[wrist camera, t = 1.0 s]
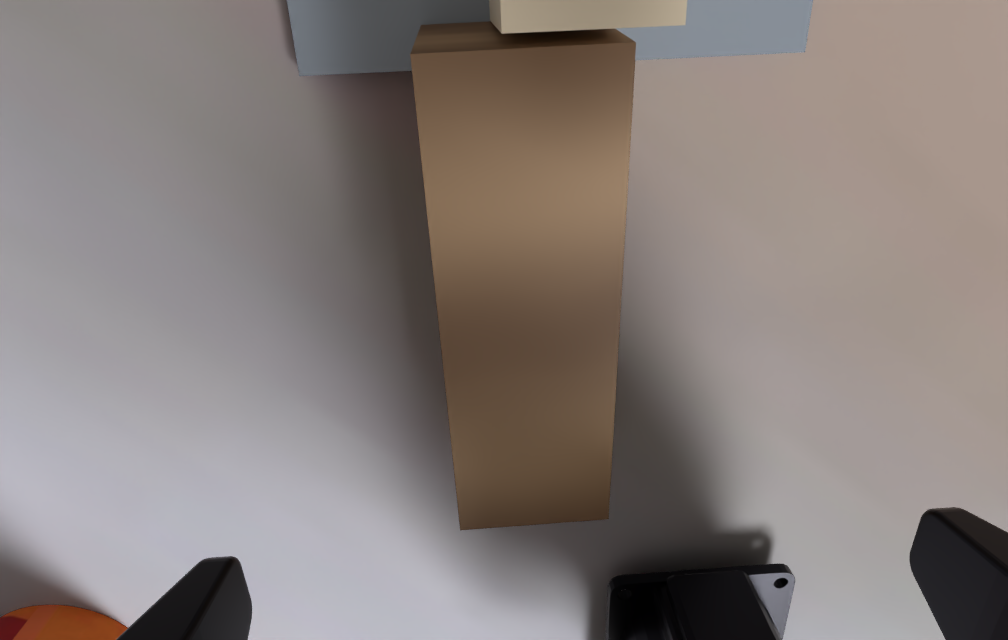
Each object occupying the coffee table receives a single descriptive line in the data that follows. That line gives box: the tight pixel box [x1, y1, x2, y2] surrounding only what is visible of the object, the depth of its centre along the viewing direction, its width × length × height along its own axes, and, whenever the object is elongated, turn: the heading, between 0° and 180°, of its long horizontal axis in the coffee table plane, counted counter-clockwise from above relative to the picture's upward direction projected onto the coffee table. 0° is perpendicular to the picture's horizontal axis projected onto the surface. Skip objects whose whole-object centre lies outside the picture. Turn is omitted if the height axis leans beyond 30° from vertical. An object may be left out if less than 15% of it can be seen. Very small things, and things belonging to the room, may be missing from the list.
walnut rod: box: [410, 21, 636, 530], centre depth 17 cm, size 12×4×4 cm, turn 2°
